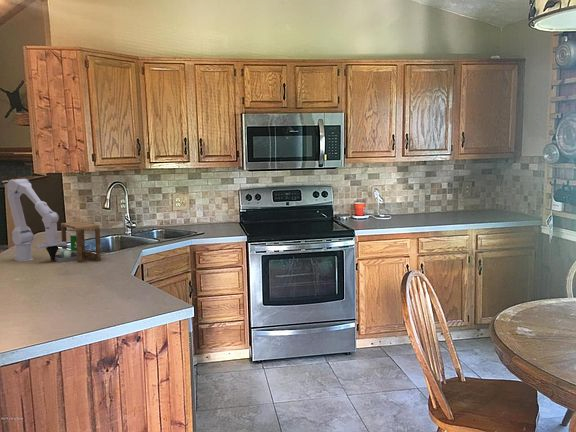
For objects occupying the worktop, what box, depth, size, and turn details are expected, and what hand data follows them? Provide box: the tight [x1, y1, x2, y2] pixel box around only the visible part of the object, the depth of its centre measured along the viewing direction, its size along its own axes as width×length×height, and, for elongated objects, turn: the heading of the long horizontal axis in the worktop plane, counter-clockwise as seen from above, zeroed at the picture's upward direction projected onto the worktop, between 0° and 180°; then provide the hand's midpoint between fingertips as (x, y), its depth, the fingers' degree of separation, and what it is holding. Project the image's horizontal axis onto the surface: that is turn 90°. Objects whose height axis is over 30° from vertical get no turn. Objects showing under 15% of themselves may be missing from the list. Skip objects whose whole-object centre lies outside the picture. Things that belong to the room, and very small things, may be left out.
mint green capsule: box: [64, 249, 72, 258], centre depth 275 cm, size 4×4×5 cm
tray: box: [49, 252, 78, 264], centre depth 277 cm, size 12×12×3 cm
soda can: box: [69, 231, 77, 254], centre depth 298 cm, size 8×8×12 cm
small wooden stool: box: [60, 221, 102, 263], centre depth 280 cm, size 22×12×19 cm, turn 45°
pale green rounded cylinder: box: [59, 248, 68, 258], centre depth 279 cm, size 4×4×5 cm
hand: (52, 260), depth 272 cm, fingers closed
